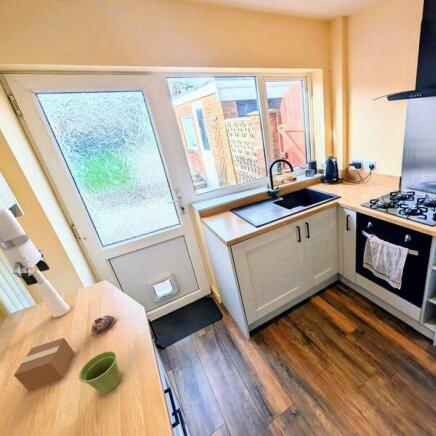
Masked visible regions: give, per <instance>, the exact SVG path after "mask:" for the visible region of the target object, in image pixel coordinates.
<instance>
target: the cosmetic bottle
mask: <svg viewBox="0 0 436 436" xmlns="http://www.w3.org/2000/svg"><path fill="white" fill-rule="evenodd" d="M32 274H33V275H34V277H35V278H36V280H37V281H38V283H36V287H37V290H38V291H39V293H40V295H41V296H42V298H43V299H44V301H45V303H46V304H47V306H48V308H49V311H50V313H51V316H52V317H53V318H58V317H61V316H64V315H65V314H67V313H68V312H69V311H70V309H71V307H70V306H69V305H68V304H67V303H66V302H65V301H64V300H63V298H62V297H61V296H60V294H59V293H58V292H57V291H56V289H55V288H54V286H53V285H52V284H51V283H50V281H49V280H47V279H46V278H45V277H44V274H42V272H40V271H39V269H36V270H33V271H31V275H32Z"/></svg>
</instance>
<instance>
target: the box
mask: <svg viewBox="0 0 436 436" xmlns="http://www.w3.org/2000/svg"><path fill="white" fill-rule="evenodd" d="M74 356H75V351H74V350H73V348H72V347H71V346H70V344H69V343H68V341H67V340H66V338H65V337H62V338H58V339H55V340H52V341H49V342H45V343H42V344H40V345H37V346H33V347H31V348H30V350H29V351H28V353H27V355H26V356H25V357H23V359H22V360H21V362H20V365H19V366H18V368H17V369H16V371H15V372H14V374H13V376H14V377H15V379H17V380H18V382H19V383H20V384H21V385H22V386H23V387H24V388H25V389H26V390H27V391H28V392H30V391H33V390H36V389H38V388H41V387H44V386H47V385H49V384H52V383H55V382H57V381H61V380H63V379H64V377H65V375H66V373H67V371H68V368H69V366H70V364H71V362H72V360H73V358H74Z"/></svg>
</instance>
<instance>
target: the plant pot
mask: <svg viewBox="0 0 436 436" xmlns="http://www.w3.org/2000/svg"><path fill="white" fill-rule="evenodd" d="M117 358H118V356H117V353H116V352H115V351H112V350H107V351H106V350H105V351H103V352H101V353H99V354H97V355H95V356H94V357H92V358H90V359H89V360H88V361H87V362H86V363H85V364H84V365H83V366H82V368H81V369H80V371H79V373H78V377H77V378H78V381H79V382H81V383H84V384H88V385H89V386H91V388H93V389H94V390H95V391H96V392H98V393H99V394H102V395H104V394H107V393H109V392H111V391H113V390H115V389H116V388H117V387H118V385H119V384H120V382H121V381H122V375H121V371H120V368H119V366H118V362H117Z"/></svg>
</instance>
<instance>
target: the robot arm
mask: <svg viewBox="0 0 436 436" xmlns="http://www.w3.org/2000/svg"><path fill="white" fill-rule="evenodd" d="M0 247H1V249H2V250H3V251H2V252H3V255H4V256H5V257H4V258H5V259H6V260H7V263H8V264H9V266H10V267H11V268H12V270H13V271H12V274H13V275H15V276H16V277H17V278H20V279H22V280H23V282H24V284H26V286H33V285H37V283H38V281H37V280H36V278H35V277H34V275H33V274H31V272H32V271H31V270H32V268H34V267H36V268H37V270H38V271H39V272H41V273H42V272H45V271H49V270H50V269H51V268H50V267H49V264H47V262H46V259H45V258H44V254H43V252H42V249H38V248H37V247H36V246H35V244H34V243H33V242H32V241H31V239H30V238H29V237H28V235H27V233H26V231H25V230H24V229H23V227H22V226H21V224H20V223H19V221H18V219H17V218H16V217H15V215H14V214H13V212H12V211H11V210H10V209H6V208H1V209H0Z"/></svg>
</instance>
